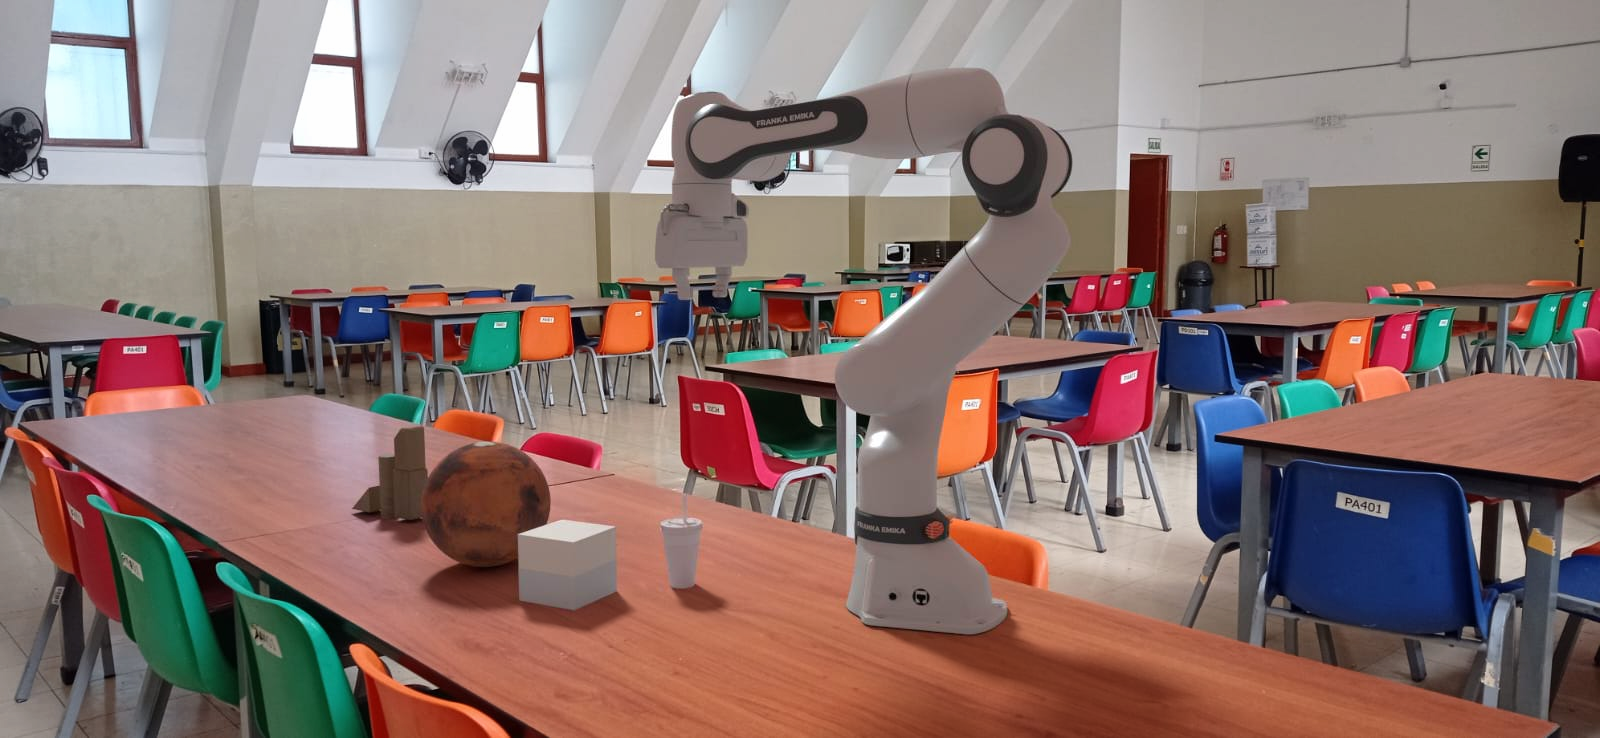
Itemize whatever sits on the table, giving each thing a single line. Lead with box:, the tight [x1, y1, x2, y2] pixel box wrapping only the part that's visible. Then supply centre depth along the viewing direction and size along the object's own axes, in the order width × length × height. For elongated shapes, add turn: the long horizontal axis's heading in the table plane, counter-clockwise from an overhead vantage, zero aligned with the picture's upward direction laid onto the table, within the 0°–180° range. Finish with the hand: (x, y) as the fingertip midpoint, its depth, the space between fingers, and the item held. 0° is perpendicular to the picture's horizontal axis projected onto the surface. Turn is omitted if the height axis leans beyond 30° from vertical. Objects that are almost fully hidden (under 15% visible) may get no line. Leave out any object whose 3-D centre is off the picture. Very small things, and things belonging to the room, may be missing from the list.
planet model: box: [421, 441, 552, 568], centre depth 182 cm, size 20×20×20 cm
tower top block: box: [517, 519, 617, 577], centre depth 166 cm, size 10×10×5 cm
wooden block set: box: [351, 425, 429, 521], centre depth 215 cm, size 17×6×18 cm, turn 57°
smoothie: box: [659, 493, 703, 590], centre depth 171 cm, size 6×6×14 cm
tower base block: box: [517, 560, 618, 611], centre depth 167 cm, size 10×10×5 cm
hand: (703, 298), depth 170 cm, fingers open, 8 cm apart
